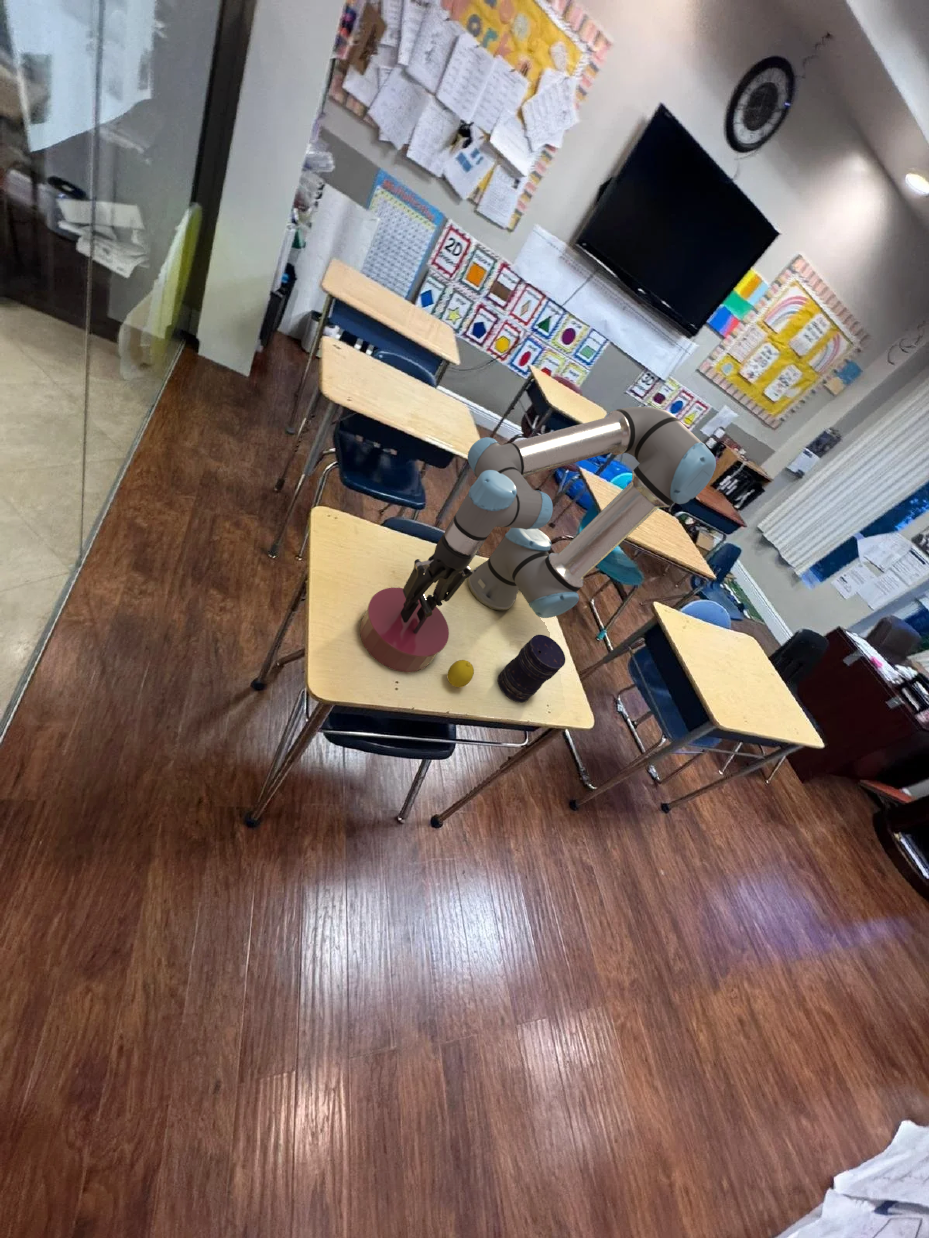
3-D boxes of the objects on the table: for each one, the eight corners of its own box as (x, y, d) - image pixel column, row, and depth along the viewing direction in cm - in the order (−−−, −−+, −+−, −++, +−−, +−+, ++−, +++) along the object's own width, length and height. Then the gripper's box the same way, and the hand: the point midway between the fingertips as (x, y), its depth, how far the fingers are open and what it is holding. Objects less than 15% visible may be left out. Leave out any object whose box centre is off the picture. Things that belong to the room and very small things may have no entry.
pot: (419, 609, 130) (430, 592, 126) (444, 670, 121) (457, 654, 117) (351, 607, 119) (360, 589, 115) (372, 674, 110) (383, 657, 106)
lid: (430, 592, 127) (446, 567, 121) (458, 657, 117) (477, 633, 111) (356, 588, 116) (370, 561, 110) (380, 660, 106) (397, 634, 100)
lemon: (460, 697, 118) (477, 678, 113) (439, 686, 117) (455, 666, 112) (464, 680, 122) (481, 660, 117) (444, 669, 121) (460, 649, 116)
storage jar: (519, 667, 134) (552, 633, 125) (537, 699, 130) (572, 666, 120) (490, 671, 128) (523, 635, 119) (508, 705, 123) (543, 670, 114)
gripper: (486, 534, 107) (437, 605, 122) (417, 524, 97) (373, 603, 112) (500, 560, 103) (448, 631, 118) (430, 553, 94) (383, 631, 108)
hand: (411, 617), depth 115 cm, fingers open, 3 cm apart
